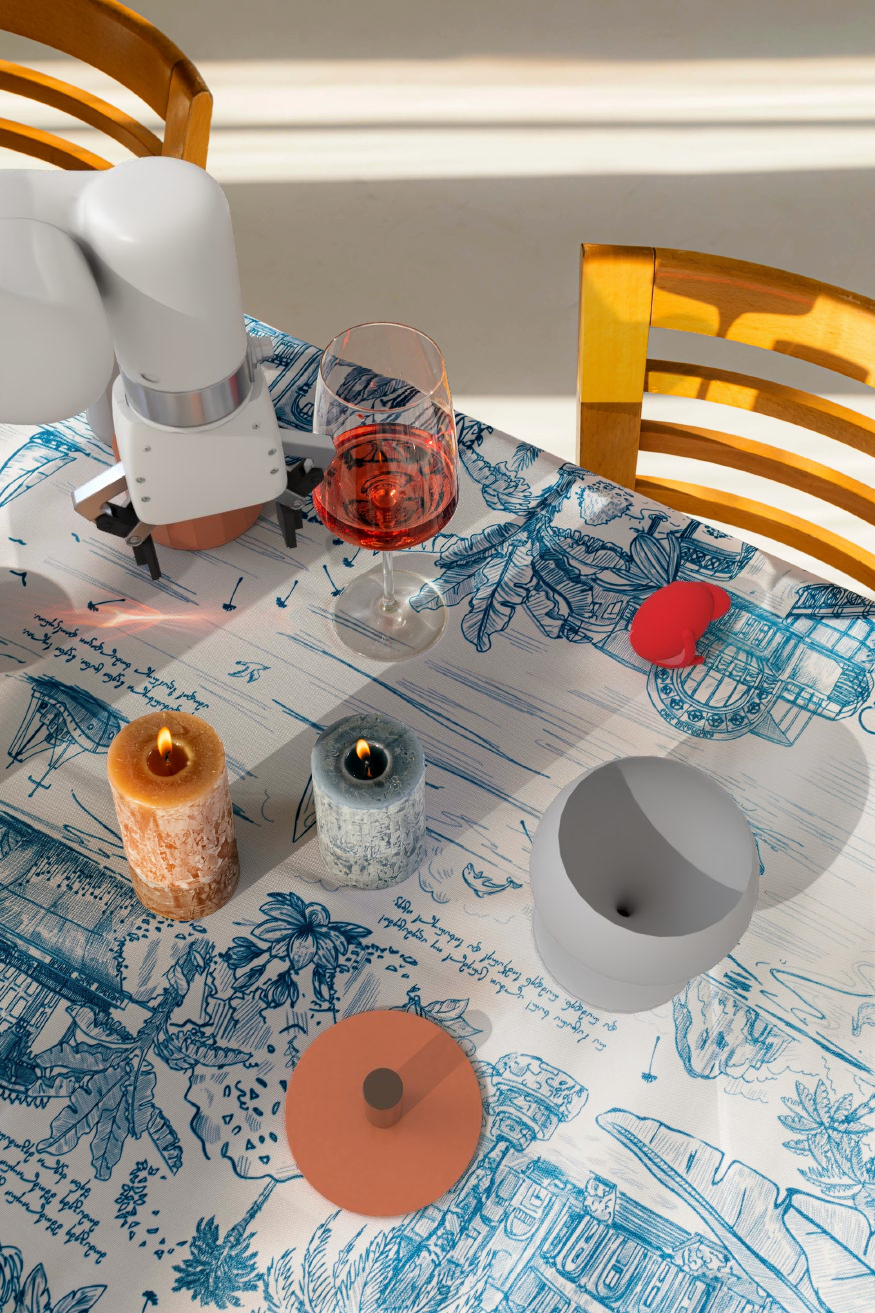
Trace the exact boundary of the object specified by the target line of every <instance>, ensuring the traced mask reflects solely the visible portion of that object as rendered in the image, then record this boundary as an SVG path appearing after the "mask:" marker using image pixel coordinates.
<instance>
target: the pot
mask: <svg viewBox="0 0 875 1313" xmlns="http://www.w3.org/2000/svg"><path fill="white" fill-rule="evenodd" d="M111 443H112V444H111V445H112V447H111V448H112V453H113V455H114V456H113V457H114V460H115V464H117V463H118V462H120V461H121V459H120V455H119V450H118V445H117V440H116V435H115V432H114V435H113V439H112V442H111ZM124 493H125V498H126V499H127V498H128V496H129V495H130V494H129V490H128V489H127V490H125V491H124ZM263 506H264V503H260V504H256V505H252V506H248V507H244V508H240V509H235V510H231V511H227V512H222V513H218V514H213V515H209V516H204V517H200V518H195V519H190V520H186V521H181V522H176V523H170V524H164V525H157V526H156V527H155V528H154V529H153V531H152V532H151V536H152V539H153V542H155V543H158V544H159V545H162V546H164V547H167V548H172V549H175V550H181V551H182V550H183V551H202V550H203V551H204V550H209V549H213V548H217V547H220V546H223V545H225V544H227V543H231V542H232V541H233V540H235V539H237V538H239V537H240V536H242V535H243V534H244V533H246V532H247V531H248V530H249V529H250V528H251V527H252V526H253V524H255V522H256V520H258V518H259V516H260V514H261V512H262V510H263Z"/></svg>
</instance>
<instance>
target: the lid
mask: <svg viewBox="0 0 875 1313" xmlns="http://www.w3.org/2000/svg"><path fill="white" fill-rule="evenodd" d="M283 1116H284V1130H285V1131H284V1132H285V1135H286V1141H287V1145H288V1147H289V1150H290V1154H291V1156H292V1159H293V1161H294V1163H295V1165H296V1166H297V1169H298V1171H299V1172H300V1173H301V1175H302V1176H303V1178H304V1180H305V1181H306V1182H307V1183H308V1184H309V1186H310V1187H311V1188H312V1189H313V1190H314V1191H315V1192H316V1193H317V1194H319V1195H320V1196H321V1197H322V1198H323V1199H324V1200H325V1201H327V1202H328V1203H330V1204H331V1205H333V1204H334V1205H333V1206H335V1207H337V1208H339V1209H341V1210H343V1211H345V1210H346V1211H345V1212H347V1211H348V1213H350V1212H351V1213H350V1214H353V1213H355V1214H354V1215H357V1214H358V1215H357V1216H360V1215H361V1216H360V1217H366V1216H368V1217H367V1218H373V1217H391V1218H395V1217H394V1216H398V1217H402V1216H401V1215H403V1216H406V1215H405V1214H407V1215H410V1214H413V1213H416V1212H418V1211H420V1209H421V1210H423V1209H424V1207H425V1208H427V1207H428V1205H429V1206H431V1205H432V1204H434V1203H435V1202H437V1201H438V1200H440V1199H442V1197H443V1196H444V1195H445V1194H447V1193H448V1192H450V1191H451V1189H453V1187H454V1186H455V1185H456V1184H457V1183H458V1181H459V1180H460V1179H461V1177H462V1176H463V1175H464V1173H465V1172H466V1170H467V1169H468V1167H469V1165H470V1163H471V1161H472V1159H473V1157H474V1155H475V1152H476V1149H477V1147H478V1144H479V1139H480V1136H481V1131H482V1123H483V1100H482V1093H481V1088H480V1083H479V1081H478V1077H477V1074H476V1072H475V1069H474V1067H473V1065H472V1063H471V1061H470V1060H469V1057H468V1056H467V1054H466V1053H465V1051H464V1050H463V1049H462V1047H461V1045H460V1044H459V1043H458V1042H457V1041H456V1040H455V1039H454V1038H453V1037H452V1036H451V1035H450V1034H449V1033H448V1032H447V1031H445V1030H444V1029H443V1028H441V1027H440V1026H439V1025H438V1024H436V1023H434V1022H432V1021H431V1020H429V1019H427V1018H424V1017H422V1016H419V1015H417V1014H414V1013H411V1012H406V1011H402V1010H393V1009H377V1010H368V1011H364V1012H360V1013H356V1014H353V1015H351V1016H348V1017H346V1018H344V1019H342V1020H340V1021H338V1022H336V1023H335V1024H332V1025H331V1026H330V1027H329V1028H327V1029H326V1030H324V1031H323V1032H321V1033H320V1035H319V1036H317V1037H316V1038H315V1039H314V1040H313V1041H312V1042H311V1044H310V1045H309V1046H308V1047H307V1049H305V1051H304V1052H303V1054H302V1056H301V1057H300V1058H299V1060H298V1062H297V1064H296V1066H295V1067H294V1070H293V1073H292V1074H291V1077H290V1080H289V1082H288V1086H287V1090H286V1095H285V1101H284V1115H283ZM439 1198H440V1199H439ZM433 1202H434V1203H433ZM426 1206H427V1207H426ZM422 1208H423V1209H422ZM415 1211H416V1212H415ZM412 1212H413V1213H412ZM409 1213H410V1214H409Z"/></svg>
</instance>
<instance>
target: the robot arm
mask: <svg viewBox="0 0 875 1313" xmlns="http://www.w3.org/2000/svg"><path fill="white" fill-rule="evenodd" d="M229 205H230V204H229V200H228V198H227V196H226V195H225V192H224V189H223V188H222V186H221V185H220V184H219V182H218V181H217V180H216V179H215V177H213V176H212V175H211V174H210V173H209V172H208V171H206V170H205V169H204V168H202V167H200V166H198V165H197V164H195V163H193V162H191V161H188V160H184V159H180V158H177V157H176V158H175V157H171V156H164V155H163V156H160V155H157V156H156V155H155V156H152V155H151V156H142V157H137V158H132V159H129V160H126V161H123V162H121V163H118V164H117V165H114V166H112V167H111V168H108V169H104V170H64V169H62V170H61V169H36V168H35V169H33V168H0V424H3V425H14V426H42V425H43V426H44V425H50V424H56V423H59V422H63V421H66V420H70V419H72V418H74V417H76V416H78V415H81V414H83V413H84V412H86V410H87V409H88V408H89V407H90V406H92V405H93V404H94V403H95V402H96V401H97V400H98V399H99V398H100V397H101V395H102V394H103V393H104V392H105V389H106V387H107V385H108V383H109V381H110V379H111V376H112V371H113V366H114V351H115V354H116V358H117V362H118V366H119V370H120V375H119V376H118V377H117V378H116V380H115V382H114V384H113V390H112V410H113V421H114V429H115V435H116V440H117V445H118V450H119V455H120V459H121V461H120V462H118V463H117V464H116V463H115V464H113V465H111V466H110V467H109V468H106V469H105V470H104V471H102V472H101V473H99V474H97V475H96V476H94V477H92V478H91V479H89V480H88V481H86V482H84V483H83V484H80V486H78V487H76V488H74V489H73V490H72V491H71V493H70V497H71V500H72V506H73V511H75V512H76V513H77V514H79V515H80V516H82V517H83V518H84V519H86V520H87V521H89V522H90V523H91V522H92V523H93V524H95V525H96V526H95V527H96V529H97V530H98V531H100V532H104V533H107V534H110V535H112V536H115V537H119V538H121V539H124V541H125V544H126V545H127V546H129V547H131V549H132V551H133V555H134V558H135V562H136V565H137V567H140V566H144V565H145V566H146V565H147V567H148V570H149V575H150V578H151V581H152V582H154V581H158V580H160V578H161V577H163V575H162V571H161V567H160V563H159V559H158V555H157V551H156V548H155V544H154V540H153V539H152V536H151V532H152V531H153V529H154V528H155V527H156V526H157V525H164V524H170V523H176V522H181V521H186V520H190V519H195V518H200V517H204V516H209V515H213V514H218V513H222V512H227V511H231V510H235V509H240V508H244V507H248V506H252V505H256V504H260V503H263V504H264V503H267V502H270V501H272V500H273V501H274V504H275V511H276V518H277V522H278V525H279V528H280V531H281V534H282V538H283V540H284V544H285V547H286V548H289V549H290V550H292V549H296V548H298V542H297V532H296V531H297V530H301V529H304V522H303V513H302V509H304V508H305V507H306V505H307V500H306V498H307V497H308V496H309V495H310V494H311V493H312V492H313V491H314V490H315V489H316V488H318V486H320V485H321V483H322V482H324V480H325V478H326V477H325V473H326V471H327V470H329V468H330V466H332V465H331V464H332V463H333V462H334V460H335V458H336V456H337V454H338V450H337V447H336V445H335V442H334V439H333V436H331V435H327V434H322V433H315V432H309V431H302V430H295V429H290V428H283V427H280V426H279V422H278V419H277V415H276V411H275V406H274V402H273V399H272V396H271V393H270V388H269V384H268V381H267V378H266V375H265V373H264V370H263V368H262V366H261V364H263V363H264V361H265V360H270V359H275V349H274V345H273V341H272V338H271V336H270V335H265V336H259V337H258V335H253V336H252V335H251V334H250V331H247V328H246V321H245V320H246V319H245V313H244V305H243V298H242V290H241V282H240V275H239V267H238V260H237V252H236V251H237V250H236V244H235V234H234V228H233V220H232V215H231V209H230V206H229ZM285 456H288V457H294V458H301V460H300V461H299V462H298V463H297V464H296V465H295V466H294V467H293V468H292V467H291V466H289V465H287V464H286V459H285V458H286V457H285ZM127 489H128V490H129V494H130V495H129V496H128V498H126V499H124V501H123V503H121V505H119V504H116V503H113V502H110V500H112V499H114V498H116V497H117V496H119V495H120V494H122V493H125V490H127Z"/></svg>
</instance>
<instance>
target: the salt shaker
mask: <svg viewBox="0 0 875 1313" xmlns="http://www.w3.org/2000/svg"><path fill="white" fill-rule="evenodd" d="M119 375H120V370H119V366H118V362H117V358H116V354H115V351H114V366H113V371H112V376H111V379H110V381H109V383H108V385H107V387H106V389H105V392H104V393H103V394H102V395H101V397H100V398H99V399H98V400H97V401H96V402H95V403H94V404H93V405H92V406H90V407H89V408H88V409H87V410H85V419H86V422H87V424H88V426H89V428H90V430H91V432H92V434H93V435H95V436H96V437H97V438H98V439H99V440H100V441H101V442H102V443H103V444H104V445H106V446H109V447H111V448H112V445H111V444H112V443H111V442H112V439H113V435H114V432H115V429H114V421H113V410H112V390H113V384H114V382H115V380H116V378H117V377H118V376H119Z"/></svg>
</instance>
